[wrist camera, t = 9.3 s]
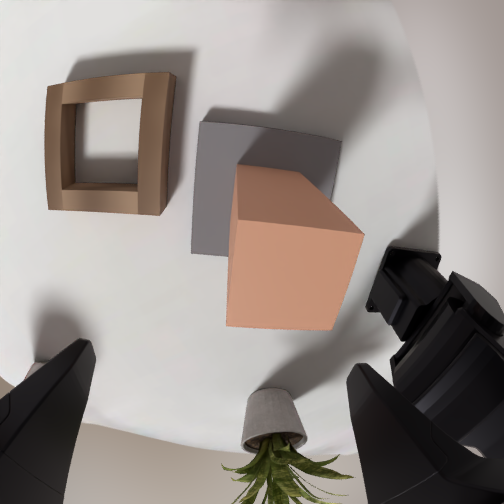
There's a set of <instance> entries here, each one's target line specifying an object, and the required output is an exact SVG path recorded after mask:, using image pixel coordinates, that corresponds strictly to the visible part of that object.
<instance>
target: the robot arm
mask: <svg viewBox="0 0 504 504" xmlns="http://www.w3.org/2000/svg"><path fill="white" fill-rule="evenodd" d="M392 251H393V253H392V254H390V253H391V252H392ZM436 257H437V258H436ZM440 260H441V255H440V254H439V253H438V252H432V251H425V250H417V249H409V248H401V247H393V246H391V247H389V248H387V250H386V252H385V255H384V258H383V261H382V264H381V266H380V269H379V271H378V274H377V276H376V279H375V282H374V284H373V287H372V290H371V292H370V296H369V298H368V301H367V303H366V306H365V307H366V310H367V311H368V312H380V313H381V314H382V316H383V317H384V319H385V321H386V322H387V324H388V325H391V326H392V327H393V329H394V331H395V332H396V334H397V336H398V337H399V339H400V341H402V342H404V341H406V342H405V343H404V344H403V346H402V347H401V348H400V349H399V351H398V352H397V353H396V354H394V355H393V356H392V357H391V359H390V365H391V371H392V378H393V385H394V387H393V386H392V385H391V384H390V383H389V382H387V381H386V380H385V379H384V378H383V377H382V376H381V375H380V374H378V373H377V372H376V371H375V370H374V369H373V368H372V367H371V366H370V365H368V364H367V363H357V364H355V366H354V367H353V369H352V370H351V372H350V374H349V375H348V377H347V381H346V384H347V392H348V400H349V408H350V416H351V422H352V426H353V431H354V435H355V440H356V444H357V449H358V453H359V458H360V463H361V468H362V473H363V478H364V483H365V489H366V494H367V499H368V504H504V313H503V311H502V309H501V308H500V305H499V304H498V302H497V300H496V299H495V298H494V297H493V296H492V295H491V294H489V293H488V292H487V291H486V290H485V289H484V288H483V287H482V286H480V285H479V284H477V283H475V282H474V281H472V280H470V279H468V278H465V277H464V276H462V275H460V274H458V273H455V272H454V271H452V273H451V275H450V276H449V281H447V280H446V279H445V278H444V277H443V276H442V275H441V274H440V273H439V272H438V271H437V268H438V265H439V263H440ZM371 306H372V307H371ZM95 363H96V356H95V353H94V349H93V346H92V343H91V341H90V340H87V339H83V338H79V339H77V340H76V341H74V342H73V343H72V344H70V345H69V346H68V347H66V348H65V349H64V350H62V351H61V352H60V353H59V354H57V355H56V356H55V357H53V358H52V359H51V360H49V361H48V362H47V363H45V364H44V365H43V366H42V367H40V368H39V369H38V370H36V371H35V372H34V373H33V374H31V375H30V376H29V377H28V378H26V379H25V380H24V381H22V382H21V383H20V384H19V385H17V386H16V387H15V388H14V389H12V390H11V391H10V393H8V394H6V395H5V396H4V397H3V398H1V399H0V504H63V500H64V493H65V488H66V483H67V478H68V473H69V468H70V464H71V459H72V455H73V451H74V447H75V443H76V438H77V435H78V432H79V428H80V424H81V421H82V418H83V414H84V411H85V408H86V404H87V401H88V396H89V392H90V386H91V382H92V377H93V372H94V368H95ZM464 446H468V447H473V448H476V449H477V450H478V451H479V452H480V453H481V454H482V455H483V456H484V458H483V457H480V456H478V455H476V454H474V453H472V452H471V451H470V450H468V449H467V448H465V447H464Z"/></svg>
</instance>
